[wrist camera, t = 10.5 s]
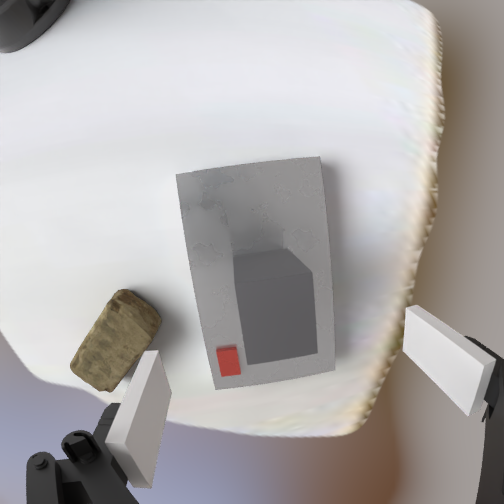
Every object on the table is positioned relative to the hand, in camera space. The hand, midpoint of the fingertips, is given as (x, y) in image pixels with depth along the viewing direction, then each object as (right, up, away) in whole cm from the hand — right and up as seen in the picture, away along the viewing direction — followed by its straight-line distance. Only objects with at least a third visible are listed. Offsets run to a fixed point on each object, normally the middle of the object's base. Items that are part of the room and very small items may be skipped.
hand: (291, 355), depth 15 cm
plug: (-1, +3, +16) cm, 17 cm away
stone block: (-17, -4, +17) cm, 24 cm away
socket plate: (-1, +3, +17) cm, 17 cm away
